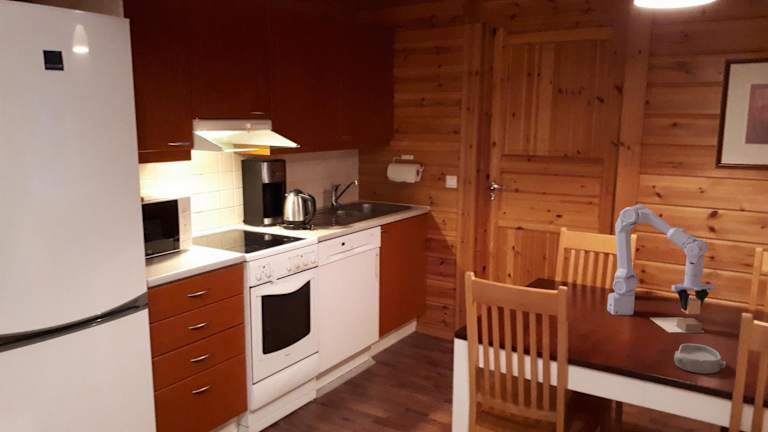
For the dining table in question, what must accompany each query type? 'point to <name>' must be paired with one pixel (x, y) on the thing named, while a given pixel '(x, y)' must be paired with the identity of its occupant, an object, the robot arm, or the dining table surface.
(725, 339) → the dining table surface
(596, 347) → the dining table surface
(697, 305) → the terracotta block
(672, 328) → the board
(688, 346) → the dish
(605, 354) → the dining table surface
